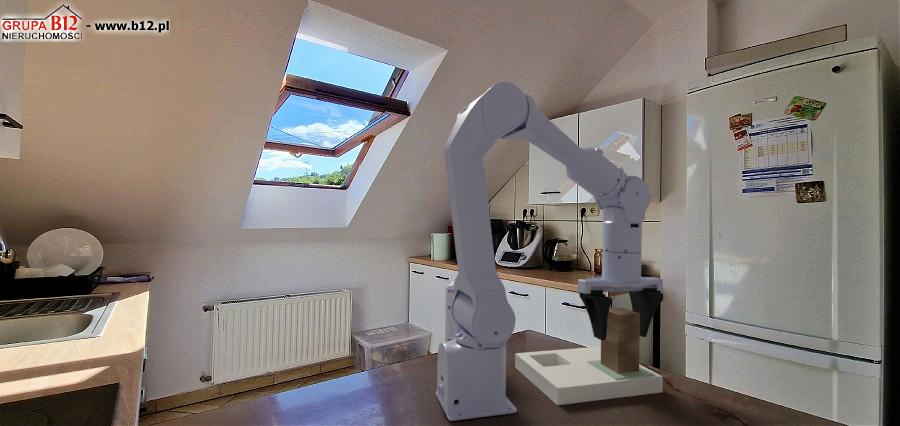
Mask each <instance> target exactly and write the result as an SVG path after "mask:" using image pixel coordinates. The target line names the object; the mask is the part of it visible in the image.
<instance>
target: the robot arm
mask: <svg viewBox="0 0 900 426" xmlns="http://www.w3.org/2000/svg"><path fill="white" fill-rule="evenodd" d="M498 140H525V141H528V142H529V143H530V144H532V145H533V146H535V147H537V148H538V149H540V151H543V152H544V153H545V154H547V155H549V156H551V158H553V159H555V160H556V161H557V162H559V163H561V164H563V165H564V166H565V172H566V176H567V178H569V180H572V181H573V182H574V183H575V184H576V185H578V186H579V187H580V188H582V189H583V190H585V191H586V192H587V193H589V194H590V195H591V196H592V197H594V200H595V201H594V202H595V204H596V206H597V208H598V209H599V210H601V211H602V245H601V246H602V250H601V251H602V253H601V254H602V255H601V256H602V257H601V276H599V277H588V278H578V279H577V292H579V293H578V295H579V298H580V299H581V301H582V302H583V303H582V304H583V305H584V307H585V310H586V312H587V314H588V315H587V316H588V317H589V318H588V319H589V321H590V325H591V329H592V334H593V337H594V338H596V339H598V340H600V341H601V340H606V335H607V318H608V313H609V309H610V308H611V305H612V303H613V298H611V297H608V296H606V294H605V293H616V292H628V296H629V298H630V303H631V311H634V312H637V313H640V337H642V338H646V337H648V336H647V335H648V333H649V330H650V326H651V322H652V319H653V317H654V314H655V312H656V311H657V309H658V307H659V306H660V305H661V303H662V302H663V301H664V293H662V292H663V291H664V279H663V278H660V277H655V276H642V246H643V245H642V238H643V237H642V235H643V233H642V232H643V231H642V230H643V225H642V224H643V223H644V220H646V211H647V209H648V208H649V206H650V204H651V201H652V198H653V196H652V195H653V194H652V193H650V189H649V186H648V184H647V182H646V181H644V180H643V179H642V178H641V177H639V176H637V175H628V174H627V173H626V172H625V169H624V168H622V167H621V166H618V165H616V164H615V163H613V162H612V161H611V160H610V159H608V157H606V156H604V151H603V150H602V149H600V148H599V147H597V148H595V147H592V146H588V147H583V148H581V147H580V146H579V145H578V144H577V142H575V141H574V140H573V139H571V138H570V137H569V136H568V135H567V134H566V133H565V132H563V131H562V130H561V129H560V128H559V127H558V126H557V125H556V124H555V123H554V122H553V121H551V119H549V118H548V117H547V116H546V115H545V114H544V113H543V112H541V111H540V110H539V107H538V105H537V102H536V101H535V99H534V97H532V96H531V95H528V94H527V93H524V91H522V89H521V88H520V87H519V86H517V85H516V84H514V83H511V82H507V81H500V82H497V83H495V84H493V85H492V86H490V87H489V88H488V89H487V90H486V91H485V92H484V93H483V94H482V95H480V96H479V97H477V98H476V99H475V100H473V101H471V102H470V103H468V104H467V105H466V106H465V107H464V108H463V109H462V110H461V111H460V112H459V113H458V114H457V116H456V121H455V123H454V125H453V128H452V130H451V132H450V134H449V136H448V139H447V140H446V142H445V145H444V151H443V155H444V162H445V163H444V164H445V172H446V179H447V188H448V197H449V204H450V213H451V221H452V228H453V229H452V230H453V238H454V247H455V255H456V263H457V271H458V273H457V275H456V277H455V279H454V280H453V281H454V297H453V300H452V303H451V314H452V317H453V319H454V321H455V322H456V323H457V324H458V328H457V330H456V334H455V339H453V340H451V341H448V342H445V341H443V342H440V343H439V345H438V349H437V359H436V361H437V366H436V367H437V372H436V377H437V378H436V391H435V396H436V398H437V399H438V402H439V404H440V405H441V408H442V410H443V412H444V413H445V415H446V417H447V419H448V420H449V421H454V422H455V421H459V420H460V421H461V420H468V419H477V418H483V417H486V418H487V417H492V416H494V417H495V416H501V415H502V416H503V415H509V414H515V413H517V407H516V406H515V405H514V404H513V403H512V402H511V400H510V399H509V398H508V397H507V396H506V390H507V389H506V388H507V387H506V384H507V341H508V340H509V339H510V337H511V336H512V335H513V333H514V331H515V327H516V315H515V310H514V309H513V308H512V306H511V304H510V302H509V301H508V298H507V292H506V287H505V285H504V283H503V282H502V280H501V278H500V275H498V272H497V269H496V260H495V252H494V242H493V235H492V226H491V217H490V209H489V201H488V200H489V199H488V192H487V191H488V190H487V183H486V181H487V180H486V171H485V165H484V157H485V156H486V155H487V153H488V152H489V151H490V150H491V149H492V148H493V146H494V145H495V144H496V143H497V142H498ZM660 291H661V292H660Z"/></svg>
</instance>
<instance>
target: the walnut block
mask: <svg viewBox="0 0 900 426" xmlns="http://www.w3.org/2000/svg"><path fill="white" fill-rule="evenodd" d="M640 338H641V336H640V313H637V312H634V311H632V309H631V310H630V309H627V308H624V307H610V309H609V313H608V318H607V335H606V340H600V346H601V364H602V365H603V366H605V367H607V368H609V369H610V370H612V371H614V372H616V373H617V374H619V373H628V372H636V371H639V365H640V347H641V346H640Z"/></svg>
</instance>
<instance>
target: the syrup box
mask: <svg viewBox="0 0 900 426" xmlns="http://www.w3.org/2000/svg"><path fill="white" fill-rule="evenodd" d="M454 281H455V280H452V281H451V282H450V283H449V284H448V285H446V287H445V325H444V326H445V328H444V329H445V335H444V336H445V338H444V339H445V341H444V342H448V341H451V340H453V339H455V334H456V330H457V328H458V324H457V323H456V322H455V321H454V319H453V317H452V314H451V303H452V300H453V297H454Z"/></svg>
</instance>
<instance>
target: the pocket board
mask: <svg viewBox="0 0 900 426" xmlns="http://www.w3.org/2000/svg"><path fill="white" fill-rule="evenodd" d="M596 360H601V345H600V346H589V347H588V346H587V347H579V348H577V347H576V348H566V349H565V348H563V349H554V350H553V349H552V350H542V351H529V352H518V353H517V352H516V353H515V354H514V367H515V369H516V370H518V371H519V373H520V374H521V375H523V376H524V378H527V380H528V381H530V382H531V384H533V385H534V386H535V387H537V389H538V390H540V391H541V392H542V393H543V394H544V395H545V396H546V397H547V398H548V399H549V400H551V401H552V402H553V403H554V404H555V405H556V406H562V405H563V406H564V405H571V404H578V403H579V404H580V403H585V402H593V401H594V402H595V401H602V400H609V399H612V400H613V399H618V398H626V397H634V396H643V395H649V394H658V393H663V387H664V386H663V383H664V382H663V381H664V379H663V377H664V376H663V375H661V374H659V373H657V372H655V371H653V370H651V369H648V368H647V367H645V366H643V365H641V364H639V366H640V367H641V368H643V369H645V370H647V371H649V372H651V373H653V374H655V376H647V377H638V378H629V379H620V380H615V379H613V378H612V377H610V376H609V375H607V374H605V373H604V372H602V371H600V370H599V369H597V368H595V367H594V366H592V365H591V364H589V363H587V361H596Z"/></svg>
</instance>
